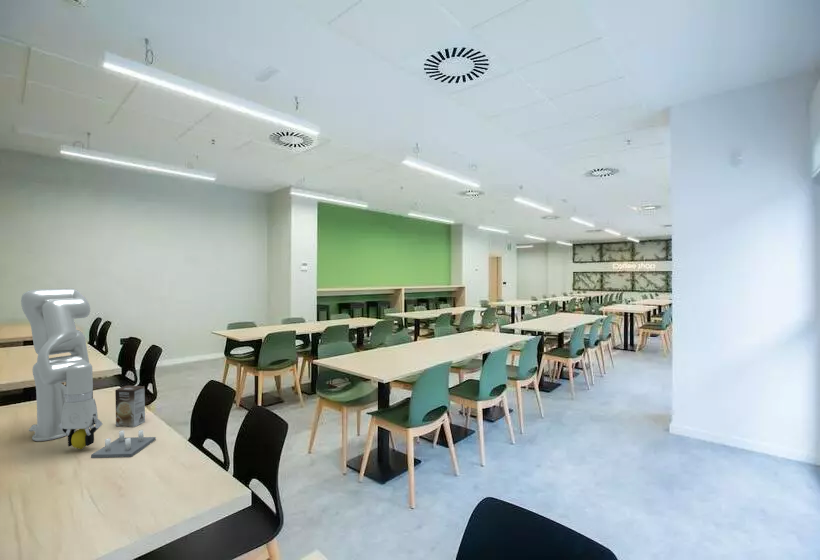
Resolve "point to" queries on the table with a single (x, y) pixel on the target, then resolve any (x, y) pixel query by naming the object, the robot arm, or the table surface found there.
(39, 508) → the table surface
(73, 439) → the lemon
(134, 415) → the coffee box
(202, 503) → the table surface
